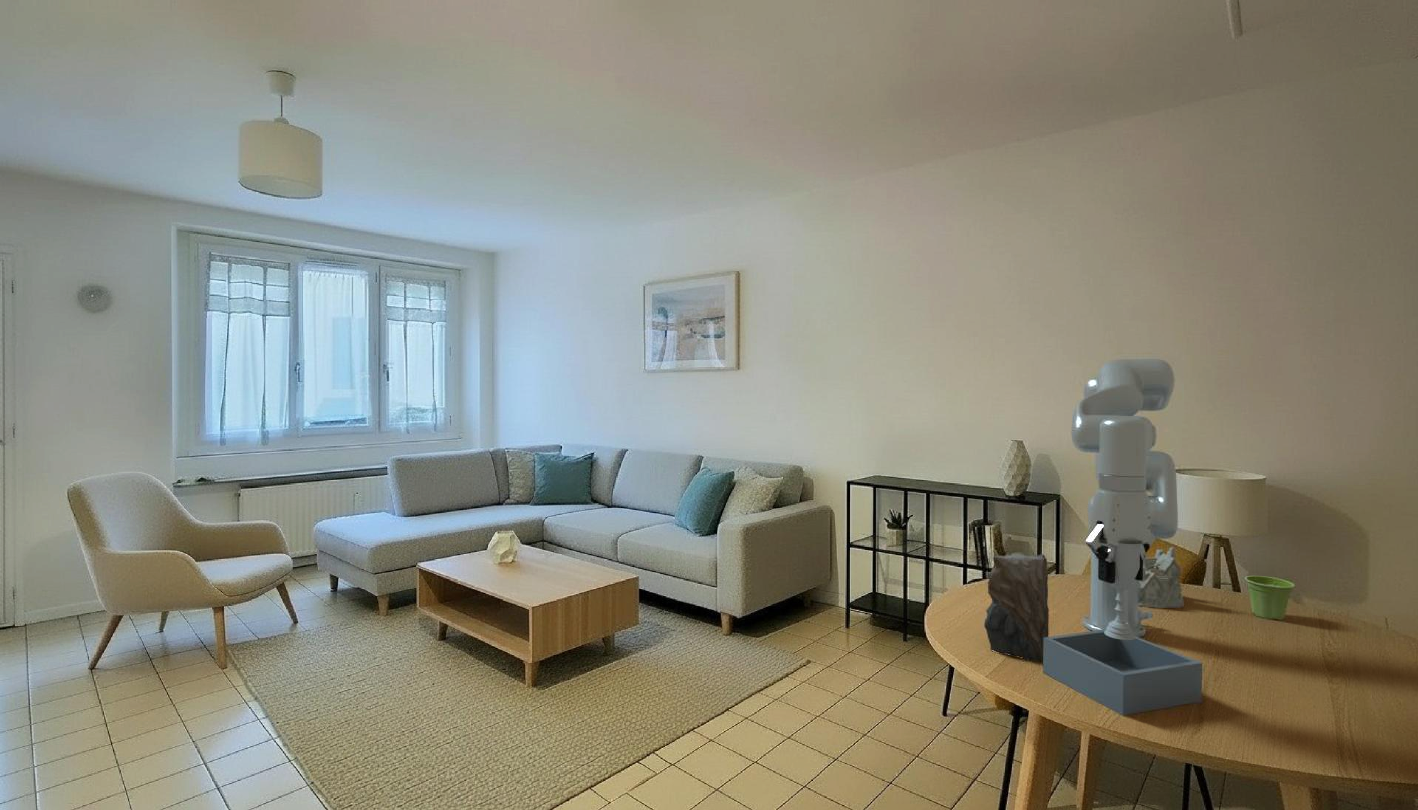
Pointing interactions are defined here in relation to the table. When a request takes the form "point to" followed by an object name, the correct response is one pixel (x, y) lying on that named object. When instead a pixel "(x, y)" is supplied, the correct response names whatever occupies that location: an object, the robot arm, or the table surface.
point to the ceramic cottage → (1160, 582)
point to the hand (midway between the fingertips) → (1120, 579)
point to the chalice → (1123, 586)
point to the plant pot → (1269, 596)
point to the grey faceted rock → (1018, 605)
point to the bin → (1123, 671)
